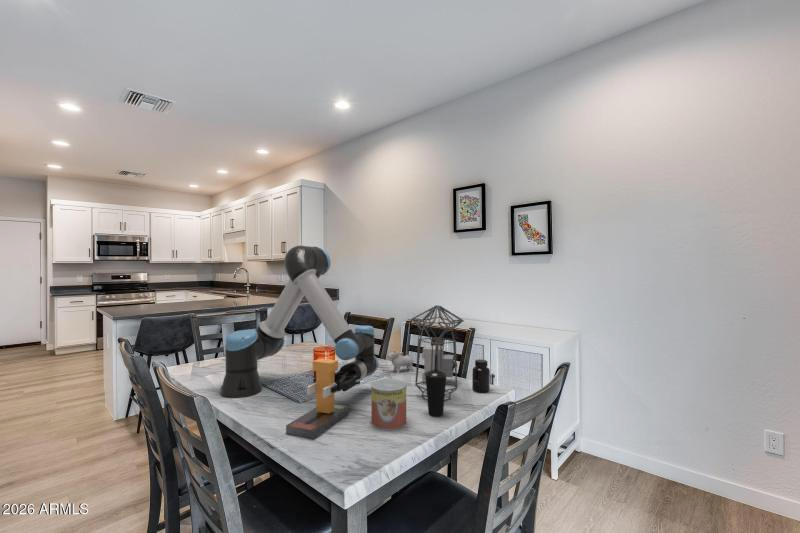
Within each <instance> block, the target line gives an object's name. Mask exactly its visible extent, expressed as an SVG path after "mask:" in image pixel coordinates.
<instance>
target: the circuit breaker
mask: <svg viewBox="0 0 800 533" xmlns="http://www.w3.org/2000/svg"><path fill="white" fill-rule="evenodd" d="M435 347H436V345H433V367H432V370H433V369H434V364H435ZM431 354H432V344H431V345H430V344H429V345H424V346H423V348H422V353H421V355H422V356H421V358H422V359H423V360H424V367H423V368H424V370H423V371H422V373H421V375H422V376H421V378H422V381H421V382H424V381H426V378H425V375H424V374H425V372H427V371H429V370H431ZM436 354H437V353H436ZM456 365H457V366H458V363H457V362H456ZM438 366H439V370H440V345H438ZM442 371H444V372H446V373H447V377H446V378H453V375H454V373H455V364H454V354H444V346H443V345H442ZM421 385H425V386H426V383H421Z"/></svg>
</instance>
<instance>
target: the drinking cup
mask: <svg viewBox="0 0 800 533" xmlns="http://www.w3.org/2000/svg"><path fill="white" fill-rule="evenodd" d="M424 375H425V378H426V385H425V386H426V388H425V389H427V391H426V393H427V394H426V395H427V396H426V399H427V400H426V401H427V410H428V415H429V416H430V417H435V418H438V417H442V416H444V406H445V401H444V400H445V399H446V398H445V397H446V396H445V394H446V392H445V390H446V384H447V383H446V382H447V378H448V377H447V373H446V372H444V371H442V370H438V369H437V354H435V369H433V370H429V371H427V372H425V374H424Z"/></svg>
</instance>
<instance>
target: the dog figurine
mask: <svg viewBox="0 0 800 533" xmlns="http://www.w3.org/2000/svg"><path fill="white" fill-rule="evenodd" d="M386 357H387V359H389V360H391V364H392V366H393V372H396V373H395V374H399V373H400V371H401V367H406V368H405V371H409V373H412V372H413V365H414V364H413V363H414V359H413V357H412V355H411V354H406V355H404V352H403V351H399V352H398V351H397V350H396V349H391V352H389V353H387V354H386Z"/></svg>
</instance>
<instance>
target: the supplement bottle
mask: <svg viewBox="0 0 800 533" xmlns="http://www.w3.org/2000/svg"><path fill="white" fill-rule="evenodd" d="M471 379H472V380H471V381H472V382H471V386H472V387H471V388H472V391H473V392H475V393H478V394H487V393H490V386H491V385H490V383H491V382H490V381H491V370H490V368H489V367H488V360H486V359H475V362H474V367H473V368H472V378H471Z"/></svg>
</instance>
